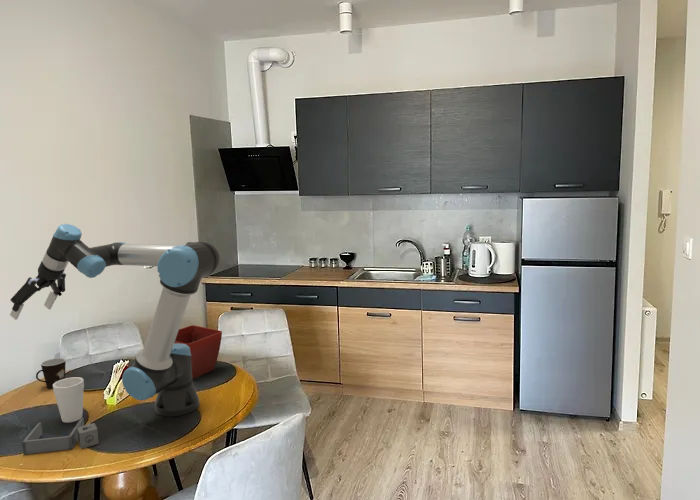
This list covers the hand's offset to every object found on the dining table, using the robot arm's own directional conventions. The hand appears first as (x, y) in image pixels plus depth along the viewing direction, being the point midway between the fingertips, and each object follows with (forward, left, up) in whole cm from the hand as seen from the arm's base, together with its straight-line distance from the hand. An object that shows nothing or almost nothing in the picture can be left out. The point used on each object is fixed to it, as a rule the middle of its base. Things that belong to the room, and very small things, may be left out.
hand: (30, 311), depth 187 cm
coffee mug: (+4, -21, -36) cm, 42 cm away
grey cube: (-24, +31, -36) cm, 53 cm away
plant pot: (-50, -23, -36) cm, 66 cm away
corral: (-13, +27, -36) cm, 47 cm away
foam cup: (-13, +11, -36) cm, 40 cm away
